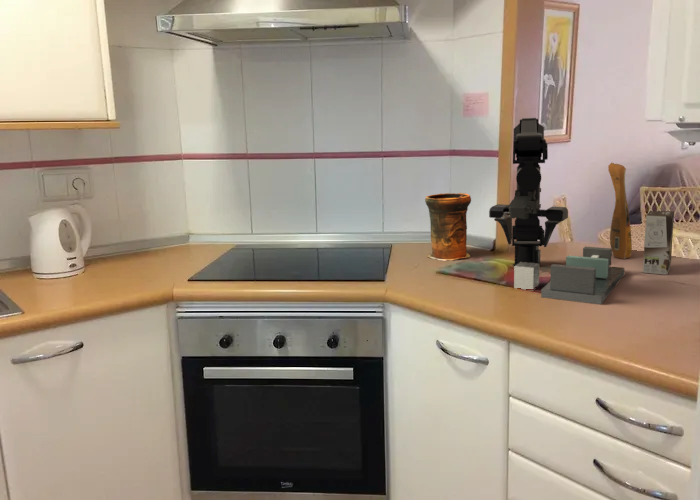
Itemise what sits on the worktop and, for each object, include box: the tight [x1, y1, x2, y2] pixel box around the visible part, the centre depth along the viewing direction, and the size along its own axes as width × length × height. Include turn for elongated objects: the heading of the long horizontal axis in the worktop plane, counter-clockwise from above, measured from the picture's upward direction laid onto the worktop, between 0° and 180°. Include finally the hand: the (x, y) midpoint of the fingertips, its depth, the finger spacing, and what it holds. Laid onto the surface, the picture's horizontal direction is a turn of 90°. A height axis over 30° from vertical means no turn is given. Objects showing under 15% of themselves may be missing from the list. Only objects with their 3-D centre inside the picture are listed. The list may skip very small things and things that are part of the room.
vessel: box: [424, 192, 472, 262], centre depth 194 cm, size 14×14×20 cm
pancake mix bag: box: [607, 162, 633, 260], centre depth 187 cm, size 7×19×28 cm, turn 162°
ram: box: [565, 246, 613, 278], centre depth 163 cm, size 10×14×5 cm
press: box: [540, 263, 625, 305], centre depth 157 cm, size 14×29×8 cm, turn 147°
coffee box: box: [642, 210, 675, 276], centre depth 167 cm, size 9×6×16 cm
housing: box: [513, 262, 540, 290], centre depth 159 cm, size 5×5×6 cm
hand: (527, 245), depth 157 cm, fingers open, 9 cm apart
